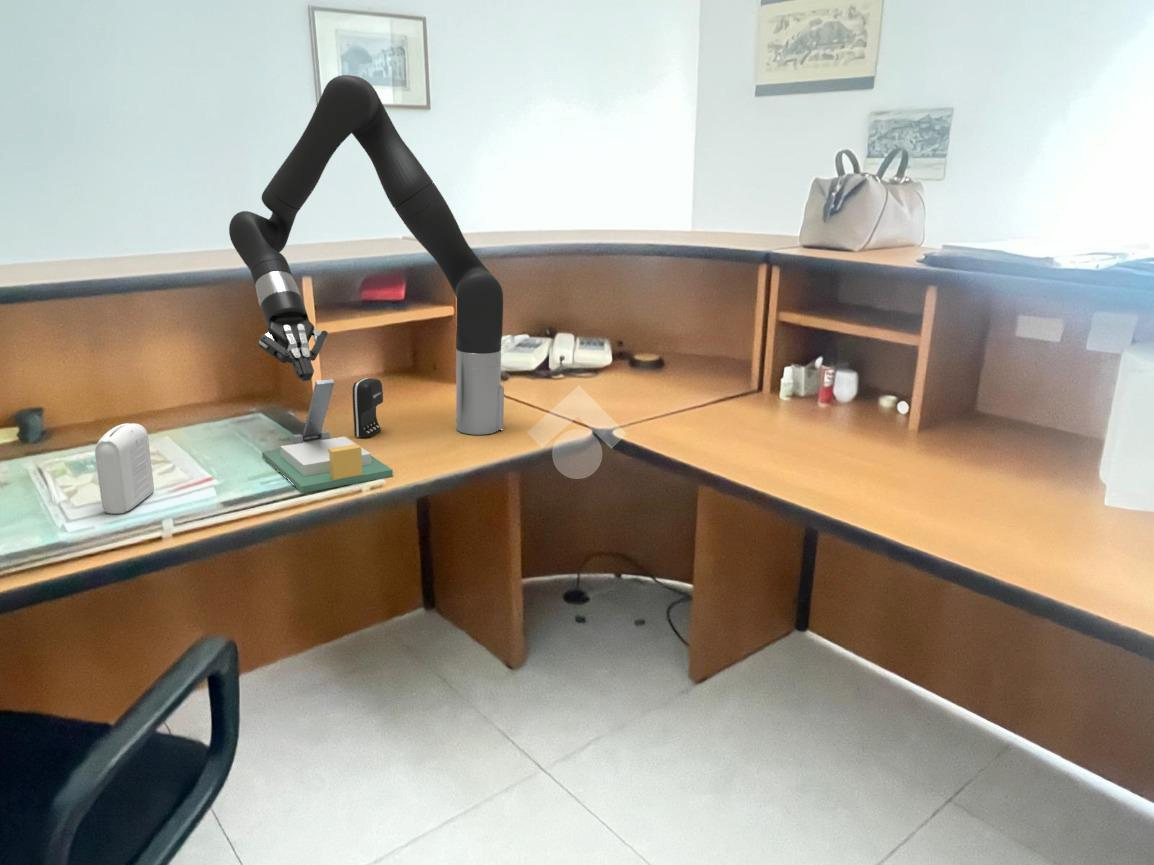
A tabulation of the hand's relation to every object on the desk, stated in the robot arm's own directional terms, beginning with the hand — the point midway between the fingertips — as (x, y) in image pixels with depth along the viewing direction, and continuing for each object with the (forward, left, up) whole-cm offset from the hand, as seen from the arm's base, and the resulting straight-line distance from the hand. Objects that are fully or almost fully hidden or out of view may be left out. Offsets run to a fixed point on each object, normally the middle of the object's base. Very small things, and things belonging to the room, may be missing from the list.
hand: (307, 378), depth 145 cm
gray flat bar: (-1, +5, -6) cm, 7 cm away
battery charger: (-13, -10, -15) cm, 22 cm away
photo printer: (+30, +13, -15) cm, 36 cm away
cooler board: (-1, +7, -15) cm, 17 cm away
